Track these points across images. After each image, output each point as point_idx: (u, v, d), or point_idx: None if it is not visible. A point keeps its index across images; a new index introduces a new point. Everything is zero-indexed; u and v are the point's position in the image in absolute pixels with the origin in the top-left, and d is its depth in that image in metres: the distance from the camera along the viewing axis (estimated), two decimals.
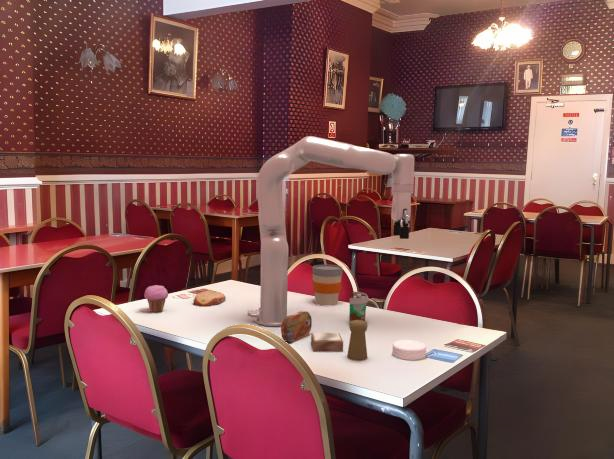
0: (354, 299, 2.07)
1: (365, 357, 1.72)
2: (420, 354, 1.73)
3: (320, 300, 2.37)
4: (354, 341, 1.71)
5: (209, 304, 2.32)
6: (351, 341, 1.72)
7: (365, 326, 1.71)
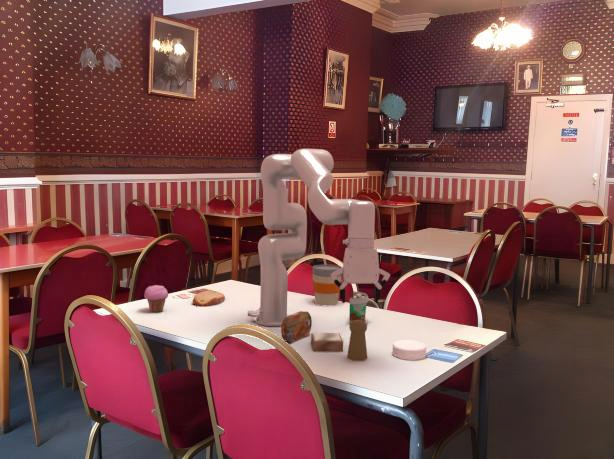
0: (354, 299, 2.07)
1: (365, 357, 1.72)
2: (420, 354, 1.73)
3: (320, 300, 2.37)
4: (354, 341, 1.71)
5: (208, 304, 2.32)
6: (351, 341, 1.72)
7: (365, 326, 1.71)
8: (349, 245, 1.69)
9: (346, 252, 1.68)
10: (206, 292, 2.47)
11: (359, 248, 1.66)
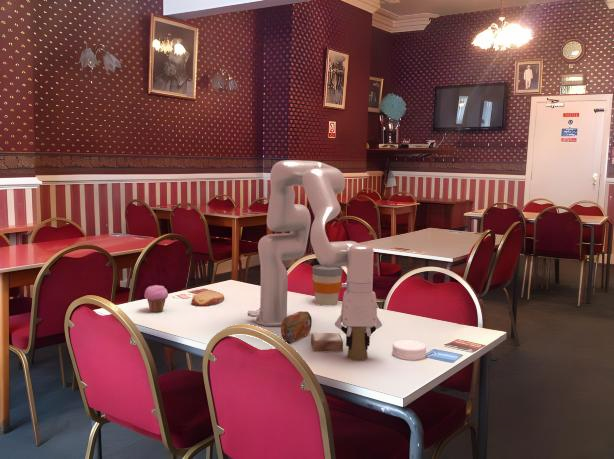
0: None
1: (365, 357, 1.72)
2: (420, 354, 1.73)
3: (320, 300, 2.37)
4: (354, 341, 1.71)
5: (207, 304, 2.32)
6: None
7: None
8: (348, 289, 1.70)
9: (345, 296, 1.70)
10: (206, 292, 2.47)
11: (358, 293, 1.68)
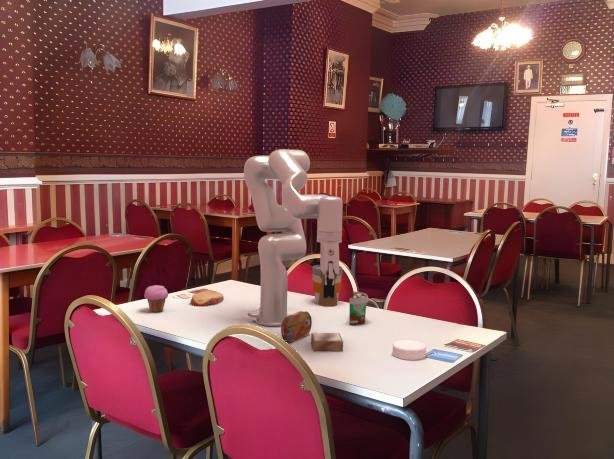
0: (354, 299, 2.07)
1: None
2: (420, 354, 1.73)
3: None
4: (334, 288, 1.80)
5: (206, 304, 2.32)
6: None
7: None
8: (334, 239, 1.76)
9: (336, 246, 1.75)
10: (205, 292, 2.47)
11: (341, 240, 1.79)
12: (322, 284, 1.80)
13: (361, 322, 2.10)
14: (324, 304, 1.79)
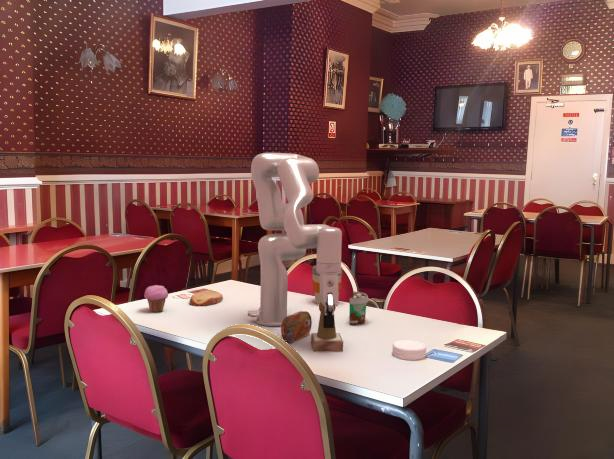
0: (354, 299, 2.07)
1: None
2: (420, 354, 1.73)
3: None
4: None
5: (204, 304, 2.32)
6: None
7: None
8: (333, 270, 1.77)
9: (335, 277, 1.76)
10: (205, 292, 2.48)
11: (340, 271, 1.80)
12: (321, 316, 1.81)
13: (361, 322, 2.10)
14: (323, 336, 1.80)
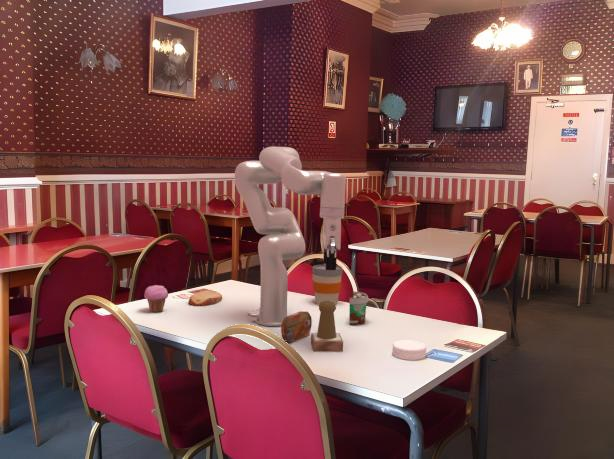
0: (354, 299, 2.07)
1: None
2: (420, 354, 1.73)
3: (320, 300, 2.37)
4: (333, 320, 1.81)
5: (203, 304, 2.32)
6: (331, 322, 1.80)
7: None
8: (337, 215, 1.80)
9: (338, 222, 1.79)
10: (204, 292, 2.48)
11: (343, 216, 1.83)
12: (321, 316, 1.81)
13: (361, 322, 2.10)
14: (323, 336, 1.80)
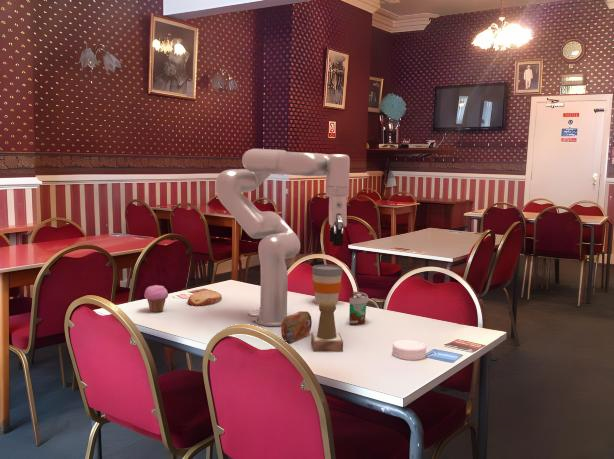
0: (354, 299, 2.07)
1: None
2: (420, 354, 1.73)
3: (320, 300, 2.37)
4: (333, 320, 1.81)
5: (202, 304, 2.32)
6: (331, 322, 1.80)
7: None
8: (342, 193, 1.90)
9: (344, 200, 1.89)
10: (204, 292, 2.48)
11: (348, 195, 1.92)
12: (321, 316, 1.81)
13: (361, 322, 2.10)
14: (323, 336, 1.80)
